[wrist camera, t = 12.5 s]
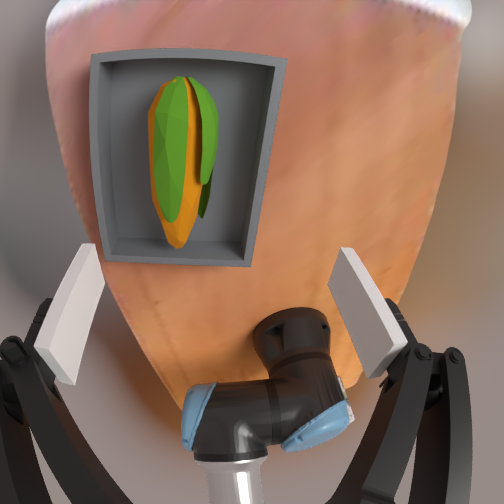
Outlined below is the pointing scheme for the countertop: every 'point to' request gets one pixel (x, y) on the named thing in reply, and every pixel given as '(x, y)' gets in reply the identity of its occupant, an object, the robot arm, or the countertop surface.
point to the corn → (181, 154)
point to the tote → (137, 151)
